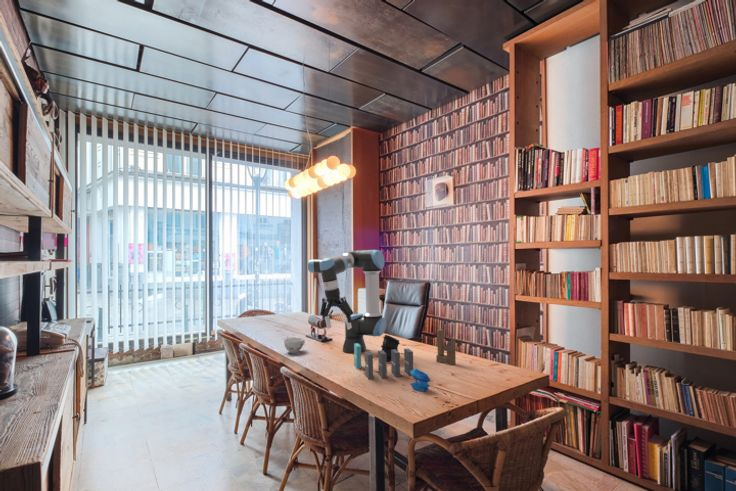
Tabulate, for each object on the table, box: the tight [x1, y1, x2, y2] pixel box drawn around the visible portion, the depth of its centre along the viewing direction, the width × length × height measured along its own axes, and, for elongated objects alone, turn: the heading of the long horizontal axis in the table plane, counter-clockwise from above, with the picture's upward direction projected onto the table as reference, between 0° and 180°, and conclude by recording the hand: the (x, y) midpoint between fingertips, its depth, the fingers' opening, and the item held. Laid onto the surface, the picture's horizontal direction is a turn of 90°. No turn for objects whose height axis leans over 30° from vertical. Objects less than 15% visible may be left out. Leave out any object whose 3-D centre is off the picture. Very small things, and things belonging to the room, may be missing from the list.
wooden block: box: [435, 329, 457, 366], centre depth 207 cm, size 4×11×18 cm, turn 43°
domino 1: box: [364, 350, 374, 381], centre depth 184 cm, size 2×7×12 cm, turn 13°
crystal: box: [410, 368, 432, 392], centre depth 166 cm, size 7×9×12 cm
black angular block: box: [380, 334, 401, 363], centre depth 213 cm, size 4×13×15 cm, turn 135°
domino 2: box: [377, 349, 388, 379], centre depth 185 cm, size 2×7×12 cm, turn 13°
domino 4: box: [403, 348, 414, 377], centre depth 188 cm, size 2×7×12 cm, turn 13°
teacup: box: [283, 337, 306, 354], centre depth 235 cm, size 15×12×8 cm
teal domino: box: [353, 343, 362, 370], centre depth 201 cm, size 2×7×12 cm, turn 13°
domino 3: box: [390, 349, 401, 378], centre depth 187 cm, size 2×7×12 cm, turn 13°
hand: (339, 328), depth 190 cm, fingers open, 13 cm apart
